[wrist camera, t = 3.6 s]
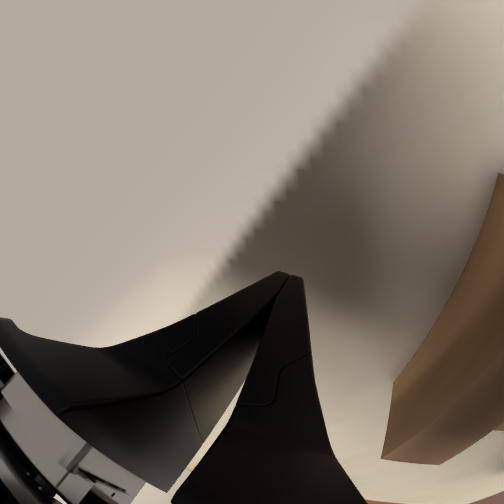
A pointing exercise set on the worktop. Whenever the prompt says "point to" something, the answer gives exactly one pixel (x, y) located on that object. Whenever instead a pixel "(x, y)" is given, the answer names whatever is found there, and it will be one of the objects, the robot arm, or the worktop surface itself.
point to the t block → (457, 362)
